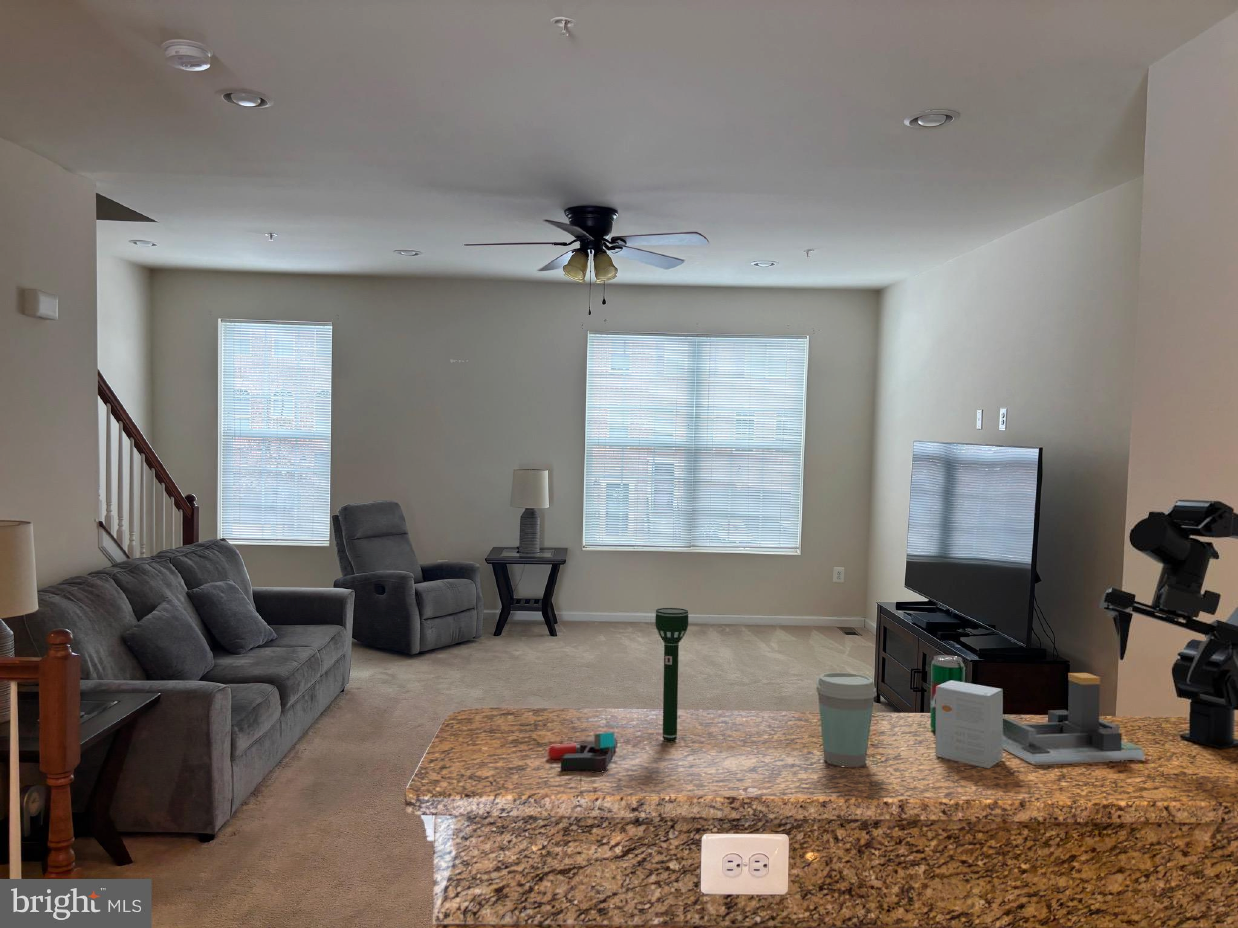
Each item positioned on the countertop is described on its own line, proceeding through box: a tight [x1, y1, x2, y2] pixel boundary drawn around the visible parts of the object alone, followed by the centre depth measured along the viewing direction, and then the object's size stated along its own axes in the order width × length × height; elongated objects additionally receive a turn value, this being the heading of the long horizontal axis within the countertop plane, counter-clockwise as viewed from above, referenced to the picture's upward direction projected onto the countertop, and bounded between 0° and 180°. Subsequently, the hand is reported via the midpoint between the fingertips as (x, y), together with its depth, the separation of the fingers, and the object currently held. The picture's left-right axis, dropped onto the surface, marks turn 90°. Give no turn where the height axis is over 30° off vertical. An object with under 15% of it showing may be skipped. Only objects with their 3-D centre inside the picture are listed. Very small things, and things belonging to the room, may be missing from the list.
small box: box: [935, 680, 1004, 769], centre depth 129 cm, size 8×6×10 cm
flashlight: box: [655, 607, 689, 743], centre depth 135 cm, size 5×5×20 cm
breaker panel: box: [1003, 709, 1145, 766], centre depth 134 cm, size 18×13×4 cm
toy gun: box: [547, 731, 619, 773], centre depth 126 cm, size 10×12×5 cm
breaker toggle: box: [1063, 672, 1104, 734], centre depth 135 cm, size 4×4×9 cm
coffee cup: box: [815, 671, 877, 768], centre depth 127 cm, size 8×9×12 cm
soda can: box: [929, 654, 966, 733], centre depth 142 cm, size 5×5×12 cm
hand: (1154, 671), depth 133 cm, fingers open, 9 cm apart
